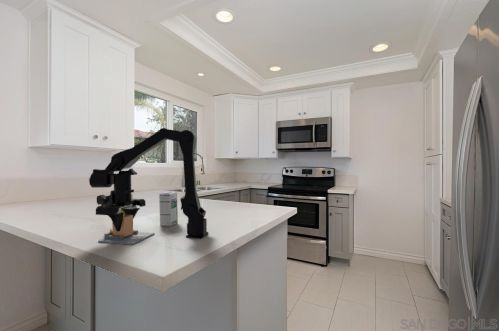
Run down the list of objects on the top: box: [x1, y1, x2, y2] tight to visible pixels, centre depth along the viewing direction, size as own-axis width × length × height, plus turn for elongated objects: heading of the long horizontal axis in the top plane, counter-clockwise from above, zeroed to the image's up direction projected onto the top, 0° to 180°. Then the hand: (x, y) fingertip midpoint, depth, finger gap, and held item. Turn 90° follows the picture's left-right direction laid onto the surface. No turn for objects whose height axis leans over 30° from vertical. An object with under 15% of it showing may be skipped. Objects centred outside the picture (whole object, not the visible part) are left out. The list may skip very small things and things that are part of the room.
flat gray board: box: [97, 228, 156, 246], centre depth 87 cm, size 14×12×3 cm
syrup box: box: [158, 191, 179, 227], centre depth 106 cm, size 6×6×14 cm
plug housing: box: [111, 215, 134, 237], centre depth 87 cm, size 5×5×7 cm
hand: (123, 229), depth 87 cm, fingers closed on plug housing, 4 cm apart
